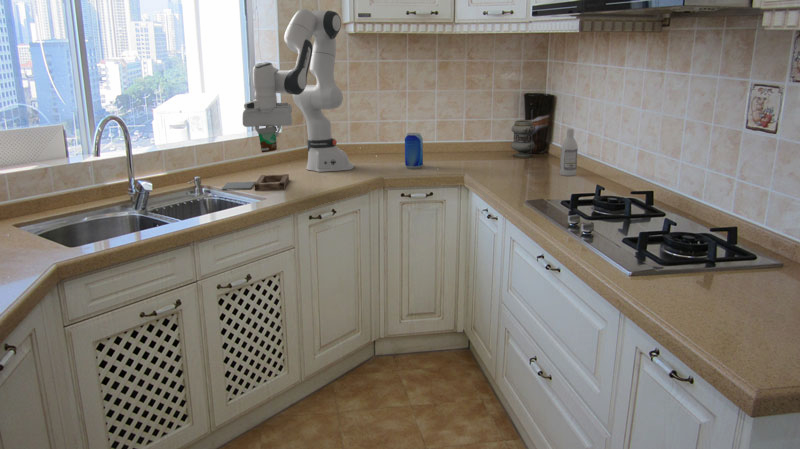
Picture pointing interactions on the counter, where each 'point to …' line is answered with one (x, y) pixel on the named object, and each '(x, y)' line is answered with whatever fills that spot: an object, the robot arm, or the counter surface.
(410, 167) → the beer can
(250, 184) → the mat
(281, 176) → the pocket frame
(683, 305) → the counter surface
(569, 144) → the bath foam
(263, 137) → the food container
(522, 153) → the apothecary jar
